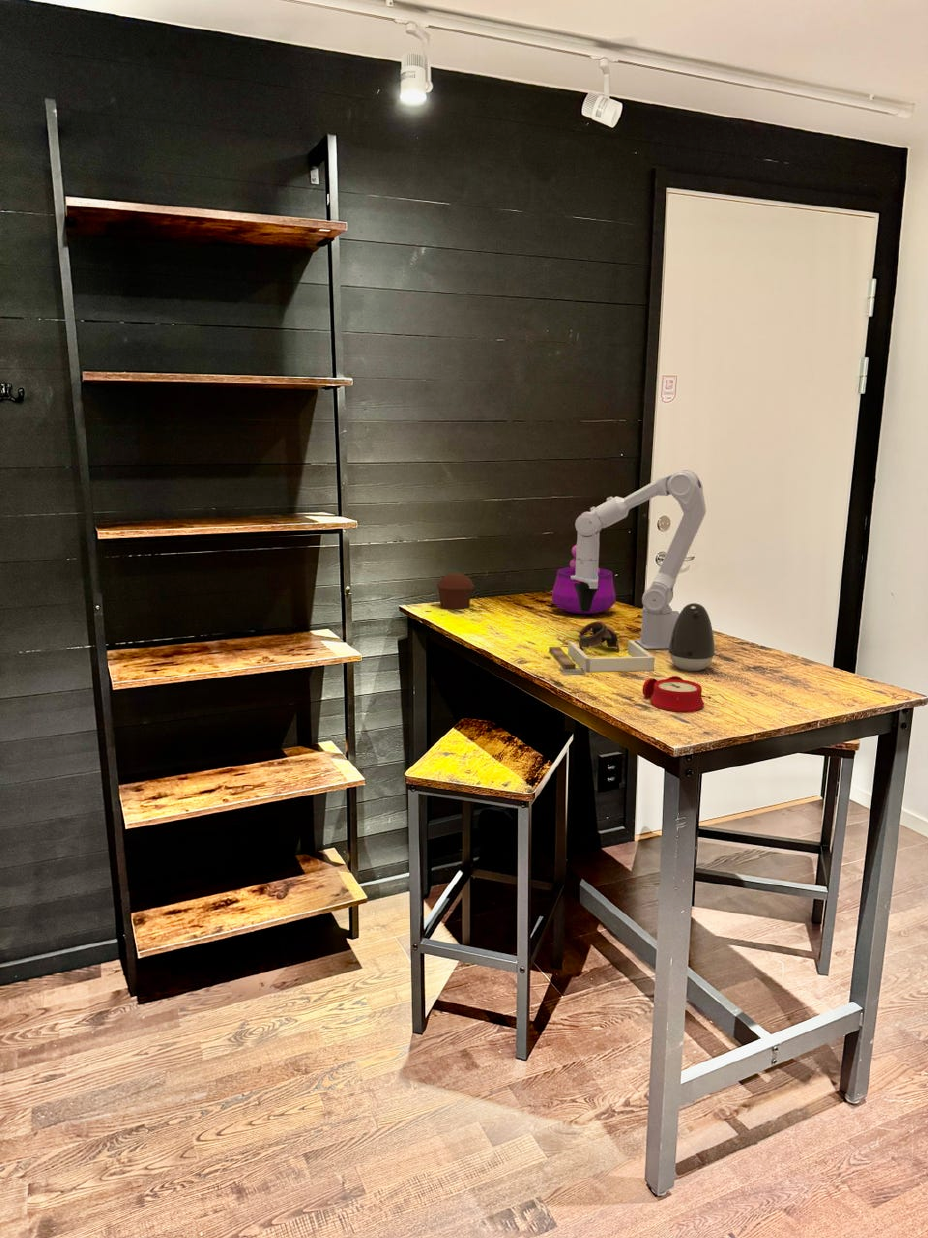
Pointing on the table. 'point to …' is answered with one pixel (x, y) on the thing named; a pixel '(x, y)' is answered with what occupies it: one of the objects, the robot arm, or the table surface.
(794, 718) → the table surface
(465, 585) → the muffin
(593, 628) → the brown hollow round piece
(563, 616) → the table surface
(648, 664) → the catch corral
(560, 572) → the decorative plant
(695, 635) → the black egg shaped dome
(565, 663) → the walnut scraper
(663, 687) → the alarm clock
